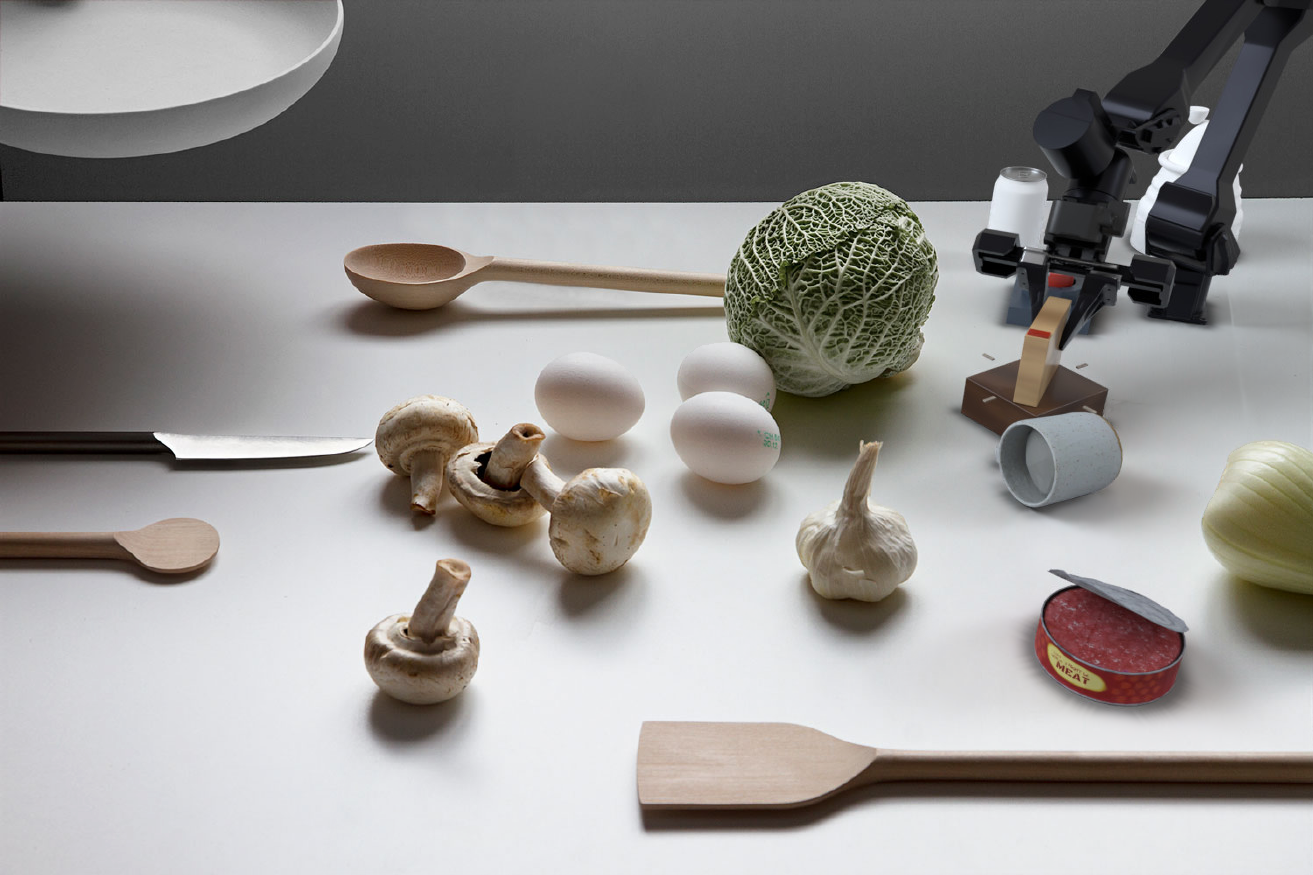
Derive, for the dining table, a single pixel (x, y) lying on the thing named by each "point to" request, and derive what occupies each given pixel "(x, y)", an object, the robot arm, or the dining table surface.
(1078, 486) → the ceramic mug
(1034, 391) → the tan wooden flat block
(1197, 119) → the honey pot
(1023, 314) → the button block
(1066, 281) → the button
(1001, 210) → the can
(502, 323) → the dining table surface
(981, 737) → the dining table surface
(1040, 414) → the wooden block
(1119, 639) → the canned food
